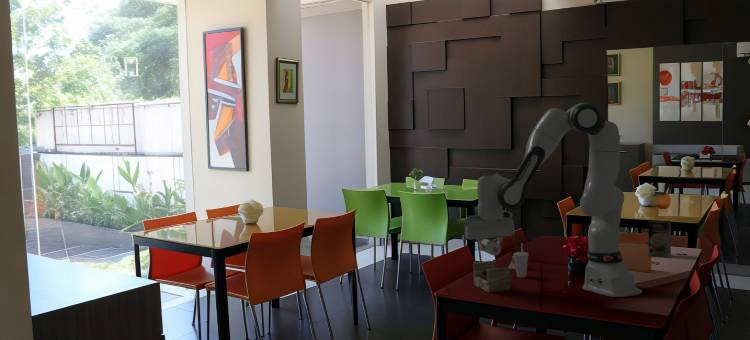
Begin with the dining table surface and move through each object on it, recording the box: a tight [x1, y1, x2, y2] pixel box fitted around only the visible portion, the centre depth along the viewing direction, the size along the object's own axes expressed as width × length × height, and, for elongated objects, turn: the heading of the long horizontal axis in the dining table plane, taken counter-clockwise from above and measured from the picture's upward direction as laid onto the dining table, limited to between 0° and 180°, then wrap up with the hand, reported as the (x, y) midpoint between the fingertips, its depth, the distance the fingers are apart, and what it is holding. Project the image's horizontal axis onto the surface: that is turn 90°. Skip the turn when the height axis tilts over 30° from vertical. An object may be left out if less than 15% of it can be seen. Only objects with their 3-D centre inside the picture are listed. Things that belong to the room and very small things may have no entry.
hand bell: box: [507, 231, 520, 271], centre depth 291 cm, size 8×8×16 cm
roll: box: [481, 238, 502, 256], centre depth 259 cm, size 10×5×5 cm, turn 15°
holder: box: [472, 260, 511, 294], centre depth 260 cm, size 14×9×9 cm, turn 15°
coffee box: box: [647, 219, 672, 258], centre depth 303 cm, size 9×6×16 cm
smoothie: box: [512, 242, 529, 278], centre depth 275 cm, size 6×6×14 cm
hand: (490, 248), depth 259 cm, fingers closed on roll, 5 cm apart
